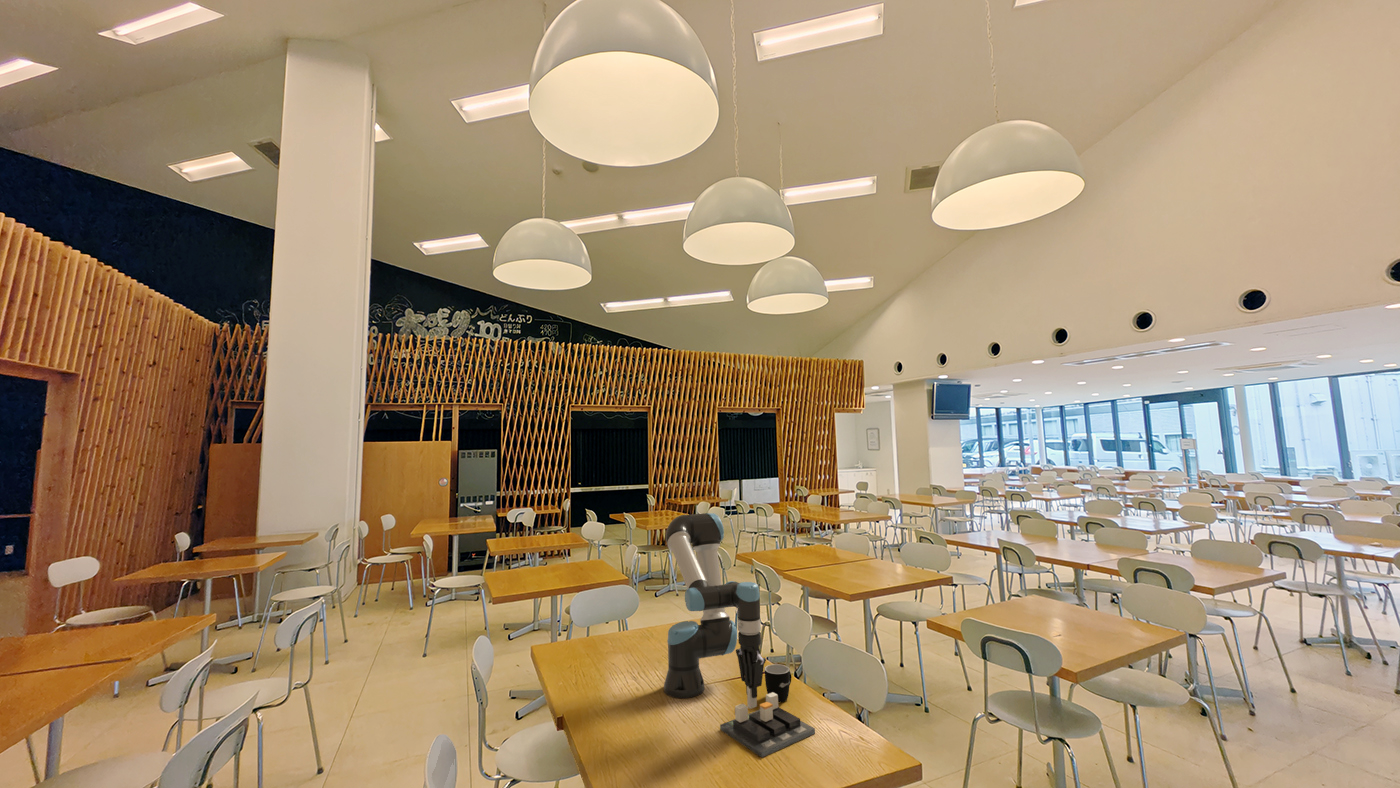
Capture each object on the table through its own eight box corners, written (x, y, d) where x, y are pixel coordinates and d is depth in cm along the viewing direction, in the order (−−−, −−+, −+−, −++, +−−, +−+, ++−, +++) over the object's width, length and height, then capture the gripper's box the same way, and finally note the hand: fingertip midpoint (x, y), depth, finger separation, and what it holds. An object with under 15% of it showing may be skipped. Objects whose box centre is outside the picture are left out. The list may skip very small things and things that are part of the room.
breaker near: (735, 719, 168) (735, 706, 169) (743, 716, 170) (742, 703, 170) (740, 722, 166) (739, 709, 167) (748, 719, 168) (747, 706, 169)
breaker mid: (760, 718, 168) (759, 704, 169) (767, 715, 170) (767, 701, 171) (765, 722, 166) (764, 707, 167) (773, 718, 168) (772, 704, 169)
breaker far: (766, 707, 176) (765, 694, 176) (773, 704, 177) (772, 692, 178) (771, 710, 174) (770, 697, 174) (778, 707, 175) (777, 694, 176)
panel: (720, 729, 170) (720, 718, 170) (771, 709, 182) (771, 698, 182) (761, 757, 153) (761, 744, 154) (815, 733, 166) (814, 721, 166)
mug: (779, 706, 184) (778, 676, 185) (760, 698, 191) (759, 668, 192) (801, 695, 192) (799, 666, 193) (781, 688, 199) (780, 659, 200)
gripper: (728, 629, 180) (731, 703, 177) (753, 639, 169) (756, 717, 166) (745, 624, 184) (748, 696, 181) (771, 634, 174) (774, 710, 171)
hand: (752, 706), depth 174 cm, fingers closed
